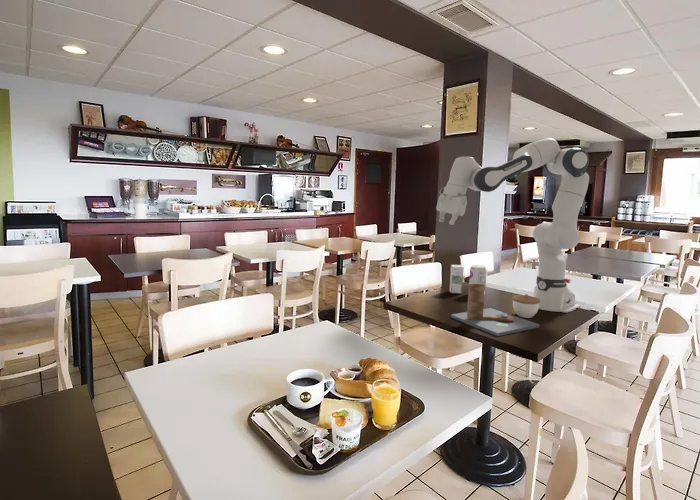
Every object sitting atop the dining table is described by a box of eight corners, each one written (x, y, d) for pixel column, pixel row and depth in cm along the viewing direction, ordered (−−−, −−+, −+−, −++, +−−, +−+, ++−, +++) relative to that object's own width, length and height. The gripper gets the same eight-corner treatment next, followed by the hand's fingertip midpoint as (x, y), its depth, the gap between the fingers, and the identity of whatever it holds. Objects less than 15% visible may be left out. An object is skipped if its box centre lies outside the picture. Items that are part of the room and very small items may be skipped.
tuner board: (490, 310, 183) (490, 304, 182) (538, 327, 161) (539, 320, 160) (450, 317, 172) (451, 310, 171) (497, 336, 150) (497, 328, 150)
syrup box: (460, 291, 217) (461, 264, 215) (462, 294, 212) (463, 266, 209) (449, 290, 218) (450, 264, 216) (450, 293, 212) (452, 266, 210)
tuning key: (510, 316, 169) (512, 282, 167) (516, 321, 162) (519, 286, 160) (465, 315, 169) (467, 281, 167) (469, 320, 163) (471, 285, 160)
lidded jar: (543, 316, 175) (544, 295, 174) (531, 321, 168) (533, 299, 167) (518, 310, 183) (520, 290, 182) (506, 315, 176) (508, 293, 175)
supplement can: (468, 296, 207) (470, 267, 205) (468, 292, 215) (470, 264, 213) (485, 297, 205) (487, 268, 202) (484, 293, 212) (486, 265, 210)
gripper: (473, 195, 168) (464, 228, 170) (450, 193, 188) (441, 222, 189) (460, 191, 166) (450, 224, 168) (438, 189, 186) (429, 219, 188)
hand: (445, 223), depth 179 cm, fingers open, 8 cm apart
